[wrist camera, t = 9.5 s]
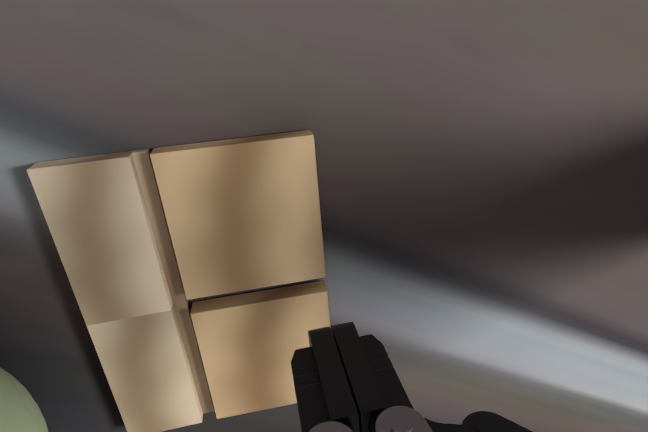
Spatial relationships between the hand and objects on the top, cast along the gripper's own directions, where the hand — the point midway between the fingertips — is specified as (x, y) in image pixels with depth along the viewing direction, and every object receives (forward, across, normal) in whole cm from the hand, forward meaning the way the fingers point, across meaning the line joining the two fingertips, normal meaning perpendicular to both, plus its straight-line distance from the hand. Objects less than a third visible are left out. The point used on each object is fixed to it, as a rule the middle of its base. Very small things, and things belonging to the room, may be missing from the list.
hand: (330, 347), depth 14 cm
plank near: (+11, +2, 0) cm, 12 cm away
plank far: (+12, +3, +9) cm, 15 cm away
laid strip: (+12, +10, +4) cm, 16 cm away
